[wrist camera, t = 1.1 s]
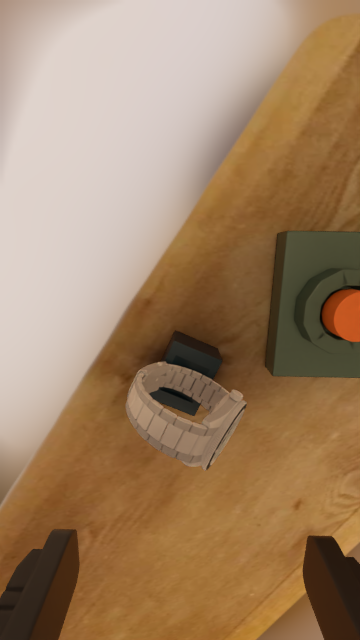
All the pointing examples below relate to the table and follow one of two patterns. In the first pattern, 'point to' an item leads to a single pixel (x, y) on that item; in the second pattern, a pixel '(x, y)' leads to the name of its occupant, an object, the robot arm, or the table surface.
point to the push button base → (311, 304)
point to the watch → (184, 403)
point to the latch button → (343, 314)
